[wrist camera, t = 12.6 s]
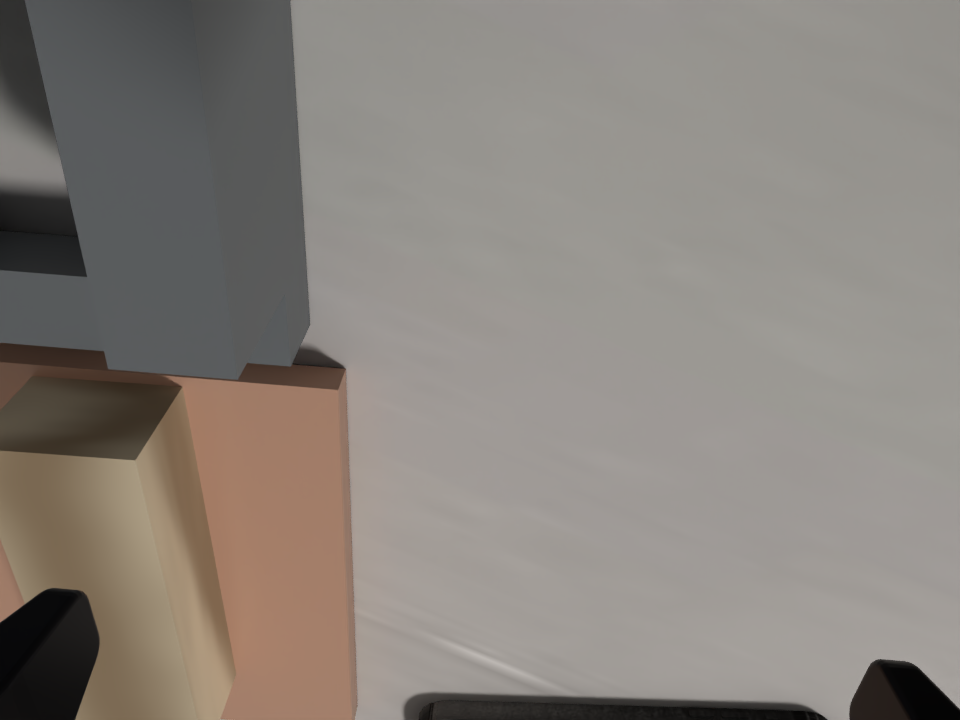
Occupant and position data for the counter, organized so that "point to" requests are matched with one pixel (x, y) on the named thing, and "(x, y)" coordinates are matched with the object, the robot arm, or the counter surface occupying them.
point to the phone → (594, 712)
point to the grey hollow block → (167, 189)
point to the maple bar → (119, 539)
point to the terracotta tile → (257, 522)
